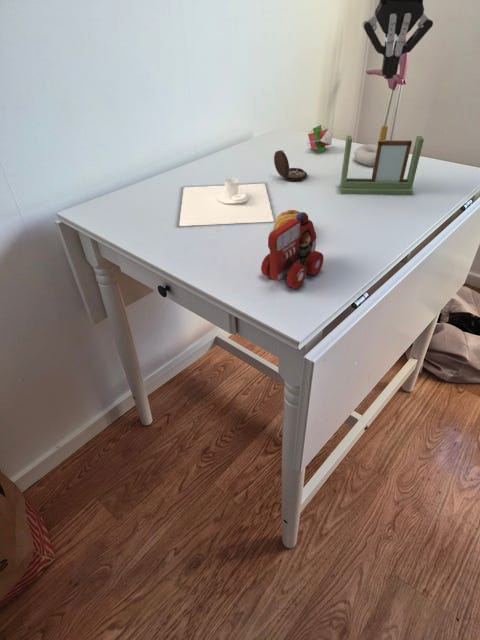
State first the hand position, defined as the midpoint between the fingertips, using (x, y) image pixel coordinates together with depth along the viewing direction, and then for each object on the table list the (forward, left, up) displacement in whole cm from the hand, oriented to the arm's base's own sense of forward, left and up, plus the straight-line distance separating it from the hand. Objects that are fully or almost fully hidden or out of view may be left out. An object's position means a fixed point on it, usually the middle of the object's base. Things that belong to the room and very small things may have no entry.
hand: (388, 77), depth 84 cm
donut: (-3, -19, -24) cm, 30 cm away
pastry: (+18, +22, -24) cm, 37 cm away
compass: (+19, -8, -24) cm, 31 cm away
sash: (-4, 0, -22) cm, 22 cm away
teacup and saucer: (+33, +8, -24) cm, 41 cm away
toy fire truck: (+18, +36, -24) cm, 46 cm away
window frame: (-1, 0, -23) cm, 24 cm away
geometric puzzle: (+11, -27, -24) cm, 37 cm away
